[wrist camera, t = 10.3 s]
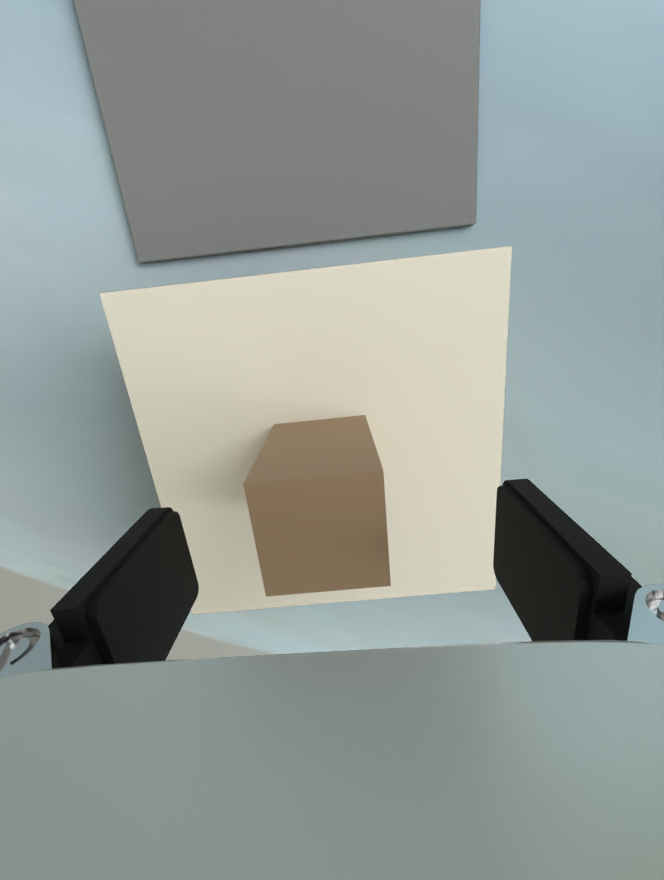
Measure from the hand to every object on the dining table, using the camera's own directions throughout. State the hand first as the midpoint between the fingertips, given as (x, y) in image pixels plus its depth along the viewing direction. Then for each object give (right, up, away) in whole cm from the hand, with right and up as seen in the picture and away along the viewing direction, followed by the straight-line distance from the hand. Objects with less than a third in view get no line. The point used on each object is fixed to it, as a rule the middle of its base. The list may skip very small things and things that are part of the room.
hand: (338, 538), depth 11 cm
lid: (-1, +2, +7) cm, 7 cm away
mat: (-3, +22, +6) cm, 23 cm away
